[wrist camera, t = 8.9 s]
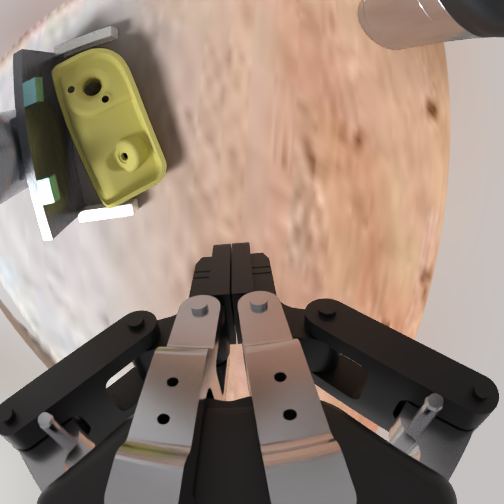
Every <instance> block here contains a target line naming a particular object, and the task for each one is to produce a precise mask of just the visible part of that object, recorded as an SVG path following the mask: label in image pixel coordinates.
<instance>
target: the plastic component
mask: <svg viewBox="0 0 504 504" xmlns="http://www.w3.org/2000/svg"><path fill="white" fill-rule="evenodd" d="M51 74H52V79H53V83H54V87H55V91H56V94H57V98H58V101H59V104H60V107H61V110H62V113H63V116H64V119H65V122H66V125H67V127H68V130H69V132H70V135H71V137H72V140H73V142H74V145H75V147H76V149H77V152H78V154H79V156H80V158H81V161H82V163H83V165H84V167H85V169H86V171H87V174H88V176H89V178H90V180H91V182H92V184H93V186H94V188H95V190H96V192H97V194H98V196H99V198H100V199H101V201H102V203H103V204H104V205H105V206H106V207H107V208H108V209H112V208H114V207H116V206H118V205H120V204H122V203H124V202H125V201H127V200H129V199H131V198H133V197H134V196H136V195H138V194H140V193H142V192H144V191H146V190H148V189H149V188H151V187H153V186H155V185H157V184H158V183H159V182H160V181H161V180H162V179H163V178H164V175H165V173H166V168H167V165H166V160H165V158H164V155H163V153H162V150H161V148H160V145H159V143H158V140H157V138H156V135H155V133H154V130H153V128H152V125H151V123H150V120H149V118H148V115H147V112H146V110H145V107H144V105H143V102H142V99H141V97H140V94H139V91H138V89H137V86H136V84H135V81H134V79H133V76H132V74H131V72H130V69H129V67H128V66H127V64H126V62H125V61H124V60H123V58H122V57H121V56H120V55H119V54H117V53H116V52H114V51H112V50H109V49H104V48H95V49H90V50H87V51H84V52H81V53H79V54H77V55H75V56H73V57H71V58H69V59H67V60H65V61H64V62H62V63H60V64H58V65H57V66H55V67H54V69H53V70H52V73H51ZM91 82H97V83H99V84H100V85H101V87H102V88H101V90H100V92H99V93H98V94H96V95H93V96H88V95H86V94H85V93H84V90H85V87H86V86H87V85H88V84H89V83H91ZM70 87H75V90H74V92H73V93H69V92H68V89H69V88H70ZM104 96H108V97H109V101H108V102H106V103H103V102H102V98H103V97H104ZM124 153H126V154H127V155H128V159H126V158H125V157H124V155H123V154H124Z"/></svg>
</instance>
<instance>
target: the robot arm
mask: <svg viewBox="0 0 504 504" xmlns="http://www.w3.org/2000/svg"><path fill="white" fill-rule="evenodd" d="M358 17H359V21H360V23H361V26H362V28H363V29H364V31H365V32H366V34H367V35H368V36H369V37H370V38H371V39H372V40H373V41H375V42H376V43H377V44H379V45H381V46H383V47H385V48H388V49H392V50H400V49H405V48H410V47H415V46H421V45H427V44H433V43H439V42H446V41H454V40H463V39H471V38H484V37H504V0H362V1H361V3H360V4H359V8H358ZM236 332H237V340H238V344H242V347H243V356H244V363H245V370H246V377H247V383H248V390H249V397H246V398H242V399H238V400H235V401H226V393H227V383H228V373H229V363H230V360H229V353H230V344H236ZM342 354H343V355H342ZM345 356H346V357H345ZM347 357H348V358H347ZM350 359H351V360H350ZM352 360H353V361H352ZM354 361H355V362H356V363H355V362H354ZM131 362H133V364H134V366H135V367H134V368H133V369H131V370H130V371H129V372H127V373H126V374H125V375H124V376H122V377H121V378H120V379H118V380H117V381H116V382H115V383H113V384H112V385H111V386H109V387H108V388H106V383H107V381H108V380H109V379H110V378H111V377H112V376H114V375H115V374H116V373H118V372H119V371H120V370H122V369H123V368H124V367H125V366H127V365H128V364H129V363H131ZM357 363H358V364H357ZM359 364H360V365H359ZM315 384H316V385H317V386H319V387H320V388H322V389H323V390H324V391H326V392H327V393H329V394H330V395H332V396H333V397H335V398H336V399H338V400H339V401H341V402H342V403H344V404H345V405H347V406H349V407H350V408H352V409H353V410H355V411H356V412H358V413H359V414H361V415H363V416H364V417H366V418H367V419H369V420H371V421H372V422H374V423H375V424H377V425H379V426H380V427H382V428H384V429H385V430H387V431H388V432H389V440H390V443H389V442H388V441H386V440H384V439H383V438H382V437H380V436H379V435H377V434H376V433H374V432H373V431H371V430H370V429H368V428H367V427H365V426H364V425H362V424H361V423H360V422H358V421H357V420H355V419H354V418H352V417H351V416H350V415H348V414H347V413H345V412H344V411H342V410H341V409H339V408H338V407H336V406H334V405H332V404H329V403H327V402H324V401H321V400H320V399H319V396H318V393H317V390H316V387H315ZM498 401H499V393H498V390H497V387H496V385H495V384H494V382H493V381H492V380H491V379H489V378H488V377H486V376H484V375H482V374H480V373H478V372H476V371H474V370H472V369H470V368H468V367H466V366H464V365H462V364H460V363H458V362H456V361H454V360H452V359H450V358H449V357H446V356H445V355H443V354H441V353H439V352H437V351H435V350H433V349H431V348H429V347H427V346H425V345H423V344H421V343H419V342H417V341H415V340H413V339H411V338H409V337H407V336H405V335H403V334H401V333H399V332H397V331H396V330H394V329H392V328H390V327H388V326H386V325H384V324H382V323H380V322H378V321H376V320H374V319H372V318H370V317H368V316H366V315H364V314H362V313H360V312H358V311H356V310H354V309H353V308H351V307H349V306H347V305H345V304H343V303H341V302H339V301H336V300H333V299H318V300H315V301H312V302H311V303H309V304H308V305H307V307H306V309H297V308H292V307H289V306H286V305H284V304H283V303H281V302H280V300H279V298H278V297H277V296H276V291H275V286H274V281H273V276H272V271H271V267H270V261H269V258H268V257H267V256H266V255H264V254H263V253H254V254H250V245H249V242H247V243H234V244H232V248H231V244H222V245H214V246H213V253H212V257H202V258H201V259H200V260H199V261H198V263H197V264H196V266H195V271H194V275H193V280H192V285H191V290H190V295H189V298H188V299H187V300H185V301H184V302H183V303H182V304H181V305H180V307H179V310H178V313H177V314H176V315H174V316H171V317H168V318H164V319H160V320H157V319H156V317H155V315H154V314H152V313H151V312H148V311H135V312H132V313H129V314H127V315H126V316H124V317H123V318H121V319H120V320H118V321H117V322H115V323H114V324H113V325H111V326H110V327H108V328H107V329H105V330H104V331H102V332H101V333H100V334H98V335H97V336H95V337H94V338H92V339H91V340H89V341H88V342H87V343H85V344H84V345H82V346H81V347H79V348H78V349H77V350H75V351H74V352H72V353H71V354H70V355H68V356H67V357H65V358H64V359H62V360H61V361H60V362H58V363H57V364H55V365H54V366H53V367H51V368H50V369H48V370H47V371H46V372H44V373H43V374H41V375H40V376H39V377H37V378H36V379H34V380H33V381H32V382H30V383H29V384H27V385H26V386H25V387H23V388H22V389H21V390H19V391H18V392H16V393H15V394H14V395H12V396H11V397H10V398H8V399H7V400H6V401H4V402H3V403H2V404H0V435H1V436H3V437H4V438H5V439H6V440H7V441H8V442H9V443H11V444H12V446H13V447H14V448H15V449H17V450H18V451H19V452H20V454H21V456H22V458H23V460H24V462H25V464H26V465H27V467H28V469H29V471H30V473H31V474H32V476H33V478H34V480H35V481H36V483H37V485H38V486H39V488H40V490H41V491H42V493H41V495H40V497H39V498H38V501H37V504H457V499H456V495H455V492H454V490H453V487H452V486H451V484H450V483H449V479H450V477H451V475H452V473H453V472H454V470H455V468H456V466H457V464H458V462H459V460H460V458H461V456H462V454H463V452H464V450H465V448H466V446H467V444H468V442H469V440H470V438H471V435H472V433H473V432H474V431H475V430H476V429H477V428H478V426H479V425H480V424H481V423H482V422H483V421H484V420H485V419H486V418H487V417H488V416H489V414H490V413H491V412H492V411H493V410H494V409H495V408H496V406H497V404H498Z"/></svg>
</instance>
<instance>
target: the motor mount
mask: <svg viewBox="0 0 504 504" xmlns="http://www.w3.org/2000/svg"><path fill="white" fill-rule="evenodd" d="M116 39H118V29H116V28H115V27H113V26H108V27H105V28H102V29H99V30H96V31H94V32H91V33H88V34H85V35H83V36H80V37H77V38H75V39H72V40H70V41H67V42H65V43H63V44H60V45H58V46H56V47H55V53H49V52H42V51H34V50H25V49H22V50H20V51H18V52H16V53H15V54H13V74H14V95H15V108H16V110H11V111H6V112H1V113H0V204H1V203H3V202H4V201H6V200H8V199H9V198H11V197H12V196H14V195H16V194H17V193H19V192H21V191H22V190H24V189H26V188H28V187H29V190H30V194H31V198H32V202H33V206H34V209H35V213H36V216H37V220H38V223H39V226H40V229H41V232H42V236H43V239H44V241H45V240H52V239H54V238H55V237H56V236H57V235H58V234H59V233H60V232H61V231H62V230H63V229H64V228H65V227H66V226H68V225H69V224H70V223H71V222H72V221H73V220H74V219H75V218H76V217H78V216H79V220H80V222H85V221H92V220H99V219H106V218H114V217H121V216H129V215H134V214H135V213H136V211H137V210H138V209H139V206H138V201H137V198H136V199H129V200H127V201H125V202H124V203H122V204H120V205H118V206H116V207H114V208H112V209H108V208H107V207H106V206H105V205H104V204H103V203H102V204H96V205H90V206H85V205H84V201H83V197H82V192H81V188H80V183H79V179H78V174H77V169H76V164H75V158H74V152H73V147H72V140H71V135H70V132H69V130H68V127H67V125H66V122H65V119H64V116H63V113H62V110H61V107H60V104H59V101H58V98H57V94H56V91H55V87H54V83H53V79H52V74H51V73H52V70H53V69H54V67H55V66H57V65H58V64H60V63H62V62H64V58H65V57H67V56H69V55H72V54H75V53H77V52H80V51H83V50H85V49H88V48H91V47H94V46H97V45H100V44H103V43H106V42H109V41H113V40H116Z"/></svg>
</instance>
